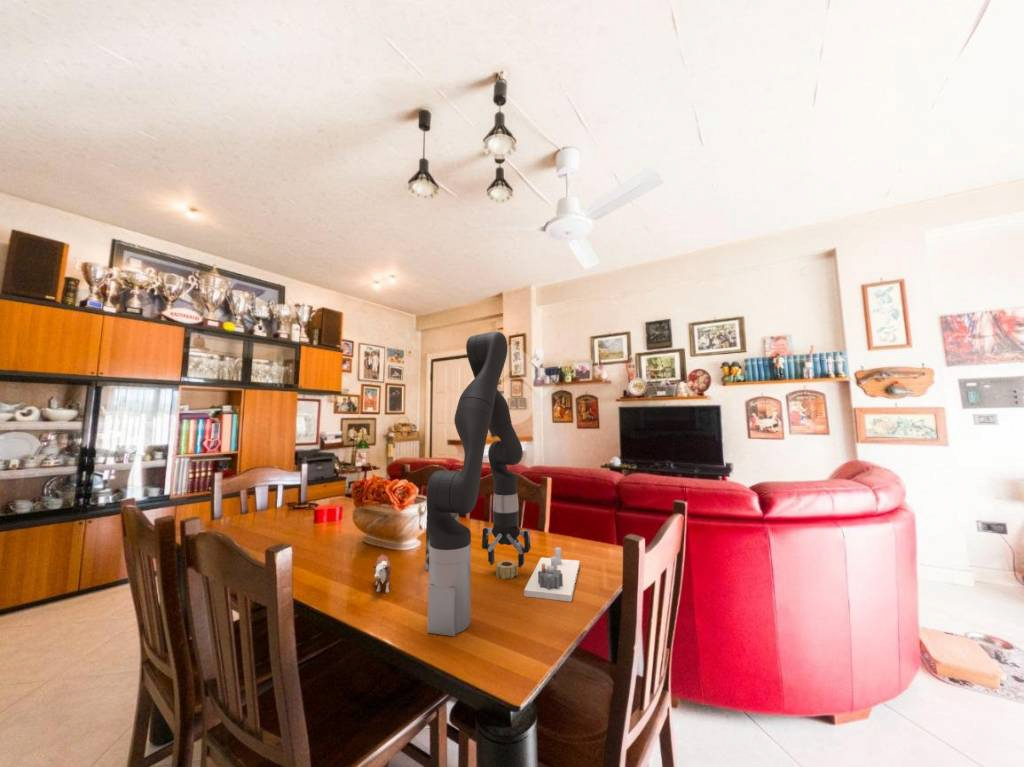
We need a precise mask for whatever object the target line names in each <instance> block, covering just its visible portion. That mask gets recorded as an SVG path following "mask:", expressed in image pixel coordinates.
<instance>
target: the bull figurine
mask: <svg viewBox="0 0 1024 767" xmlns="http://www.w3.org/2000/svg"><path fill="white" fill-rule="evenodd" d="M373 568H374V576H373V577H374V579H375V580H376V581H375V586H376V587H377V588H376V593H380V592H381V583H382V585H383V584H384V583H385V586H386V587H385V593H386V594H389V593H390V587H389V585H390V578H391V572H392V564H391V562H390V560H389V558H388V556H386V555H384V554H381V555H380V556H378V557H377V558H376V561H375V564H374V565H373Z"/></svg>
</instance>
